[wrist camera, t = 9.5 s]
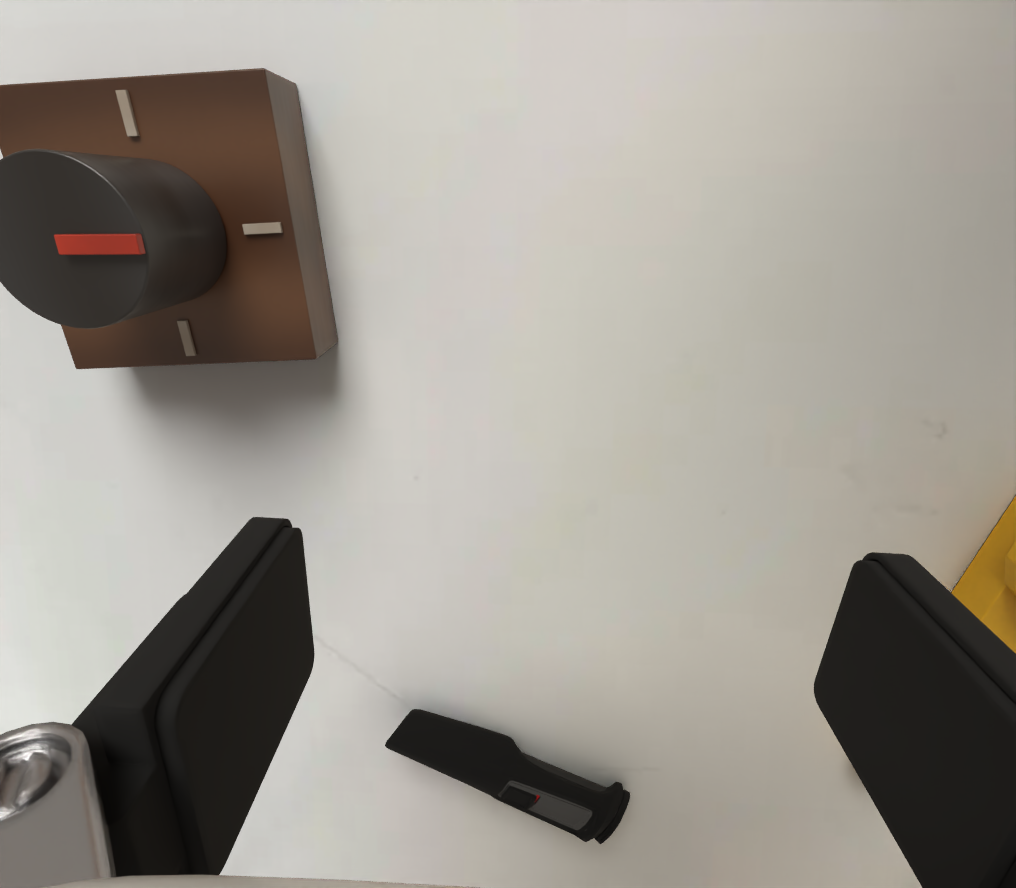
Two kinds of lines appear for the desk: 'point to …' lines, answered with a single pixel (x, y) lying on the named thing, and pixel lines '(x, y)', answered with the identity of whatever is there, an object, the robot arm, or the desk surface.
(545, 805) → the electric trimmer
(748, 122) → the desk surface
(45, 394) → the desk surface
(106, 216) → the dial knob
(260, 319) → the dial panel
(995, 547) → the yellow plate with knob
